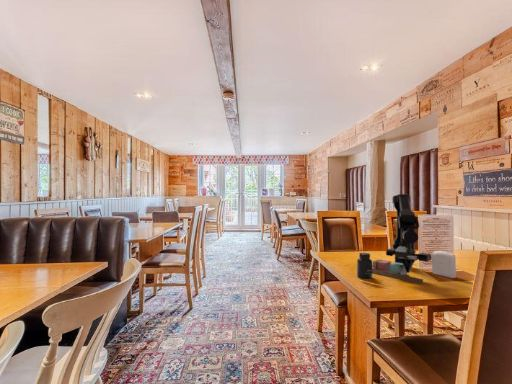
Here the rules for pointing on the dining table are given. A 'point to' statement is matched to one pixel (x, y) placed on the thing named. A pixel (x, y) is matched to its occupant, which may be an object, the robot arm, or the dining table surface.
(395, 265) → the teal block
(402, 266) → the bookend
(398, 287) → the dining table surface
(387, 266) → the pink block
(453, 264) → the photo printer
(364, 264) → the supplement bottle
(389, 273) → the shelf board
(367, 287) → the dining table surface
